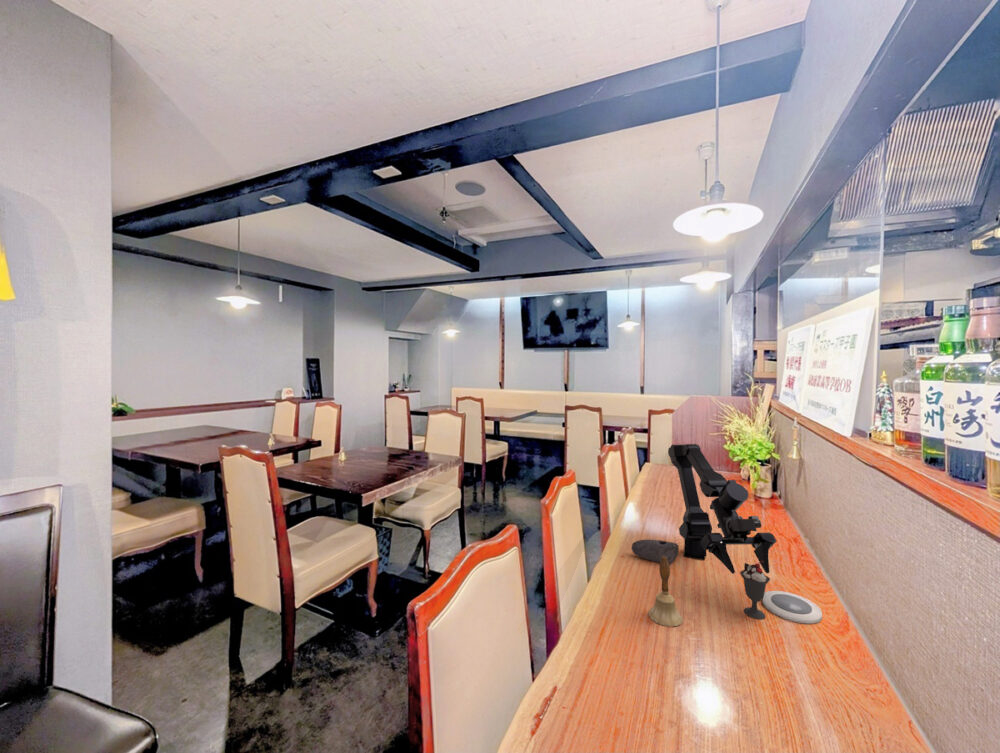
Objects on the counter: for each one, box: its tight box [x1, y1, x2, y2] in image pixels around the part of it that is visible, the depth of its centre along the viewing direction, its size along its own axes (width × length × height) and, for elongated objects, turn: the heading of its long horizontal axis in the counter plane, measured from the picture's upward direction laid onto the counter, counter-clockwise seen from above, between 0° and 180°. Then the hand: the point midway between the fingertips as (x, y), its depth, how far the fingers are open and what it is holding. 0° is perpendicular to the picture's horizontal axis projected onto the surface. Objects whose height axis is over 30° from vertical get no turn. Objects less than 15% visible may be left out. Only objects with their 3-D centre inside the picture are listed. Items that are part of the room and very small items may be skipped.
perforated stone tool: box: [631, 539, 680, 564], centre depth 136 cm, size 15×5×7 cm, turn 61°
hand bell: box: [648, 556, 684, 627], centre depth 105 cm, size 8×8×16 cm
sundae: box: [739, 560, 771, 620], centre depth 106 cm, size 7×7×15 cm
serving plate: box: [761, 590, 823, 625], centre depth 108 cm, size 13×13×1 cm
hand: (750, 573), depth 108 cm, fingers open, 9 cm apart
